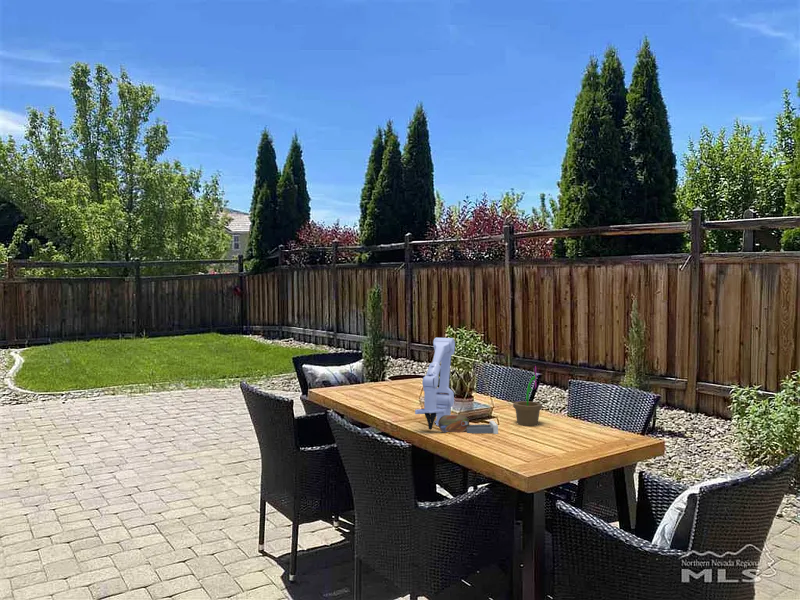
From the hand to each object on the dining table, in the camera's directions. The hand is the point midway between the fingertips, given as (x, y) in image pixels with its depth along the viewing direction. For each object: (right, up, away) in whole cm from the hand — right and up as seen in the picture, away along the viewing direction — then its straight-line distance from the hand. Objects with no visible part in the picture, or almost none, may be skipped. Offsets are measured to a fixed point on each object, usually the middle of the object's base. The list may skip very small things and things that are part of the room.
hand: (430, 428), depth 283 cm
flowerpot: (+50, -2, +17) cm, 53 cm away
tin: (+11, -2, +1) cm, 11 cm away
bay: (+23, -2, +1) cm, 24 cm away
